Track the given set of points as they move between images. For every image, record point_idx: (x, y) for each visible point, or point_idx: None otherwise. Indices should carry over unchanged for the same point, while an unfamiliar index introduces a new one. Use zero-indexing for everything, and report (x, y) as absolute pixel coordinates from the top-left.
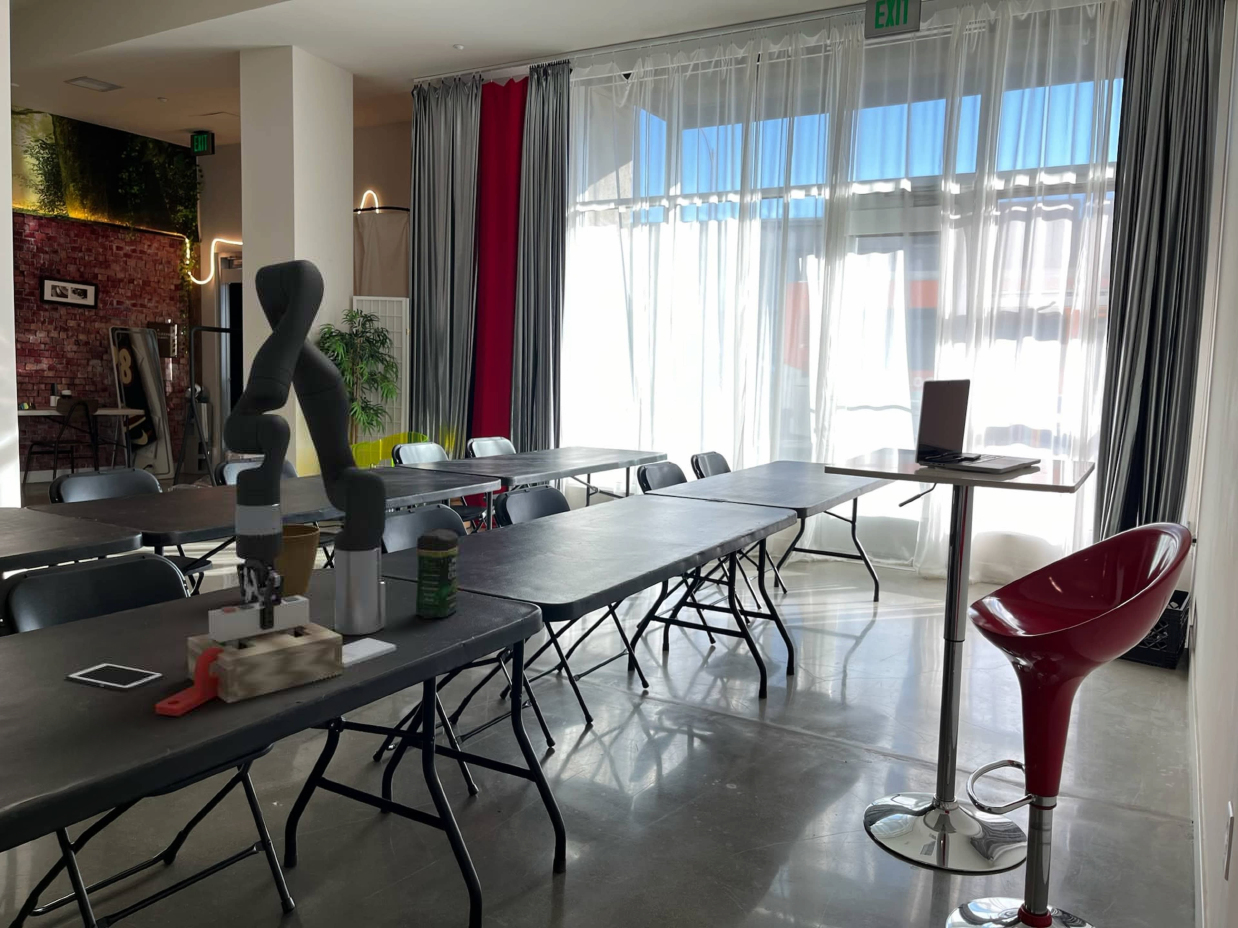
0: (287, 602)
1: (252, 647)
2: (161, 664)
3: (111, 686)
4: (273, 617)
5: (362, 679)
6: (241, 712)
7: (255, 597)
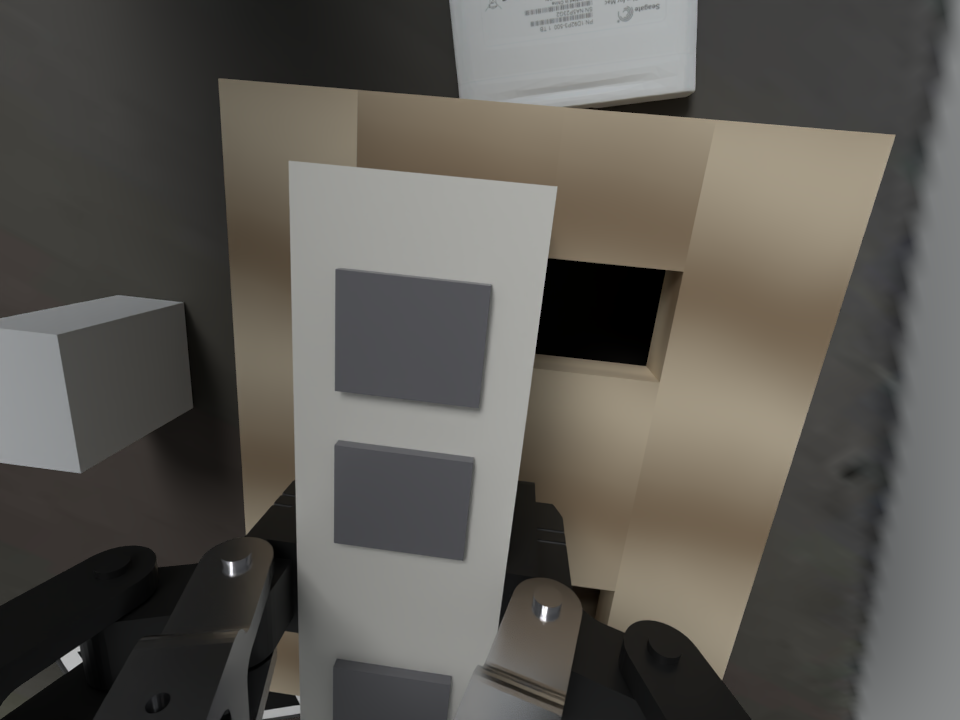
0: (492, 419)
1: (618, 611)
2: (142, 546)
3: (275, 718)
4: (536, 520)
5: (898, 143)
6: (753, 620)
7: (265, 623)
